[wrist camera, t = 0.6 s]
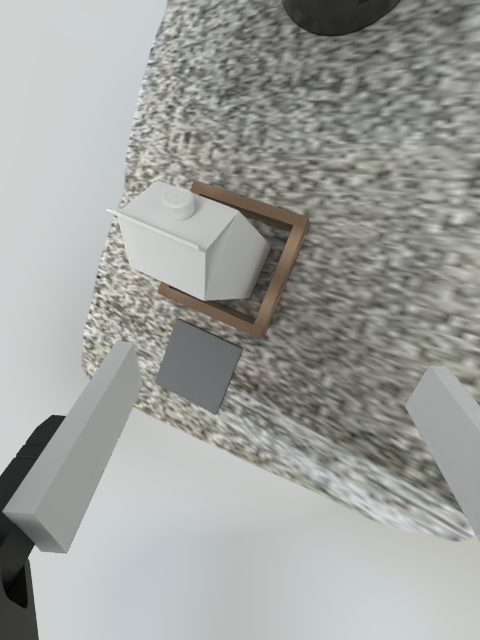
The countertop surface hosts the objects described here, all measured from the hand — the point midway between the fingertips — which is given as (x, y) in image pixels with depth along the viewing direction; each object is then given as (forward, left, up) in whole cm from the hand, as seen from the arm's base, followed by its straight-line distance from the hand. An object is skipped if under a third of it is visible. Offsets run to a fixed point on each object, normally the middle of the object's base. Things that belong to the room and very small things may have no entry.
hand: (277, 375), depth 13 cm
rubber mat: (+11, -11, -22) cm, 27 cm away
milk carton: (-4, -11, -22) cm, 25 cm away
